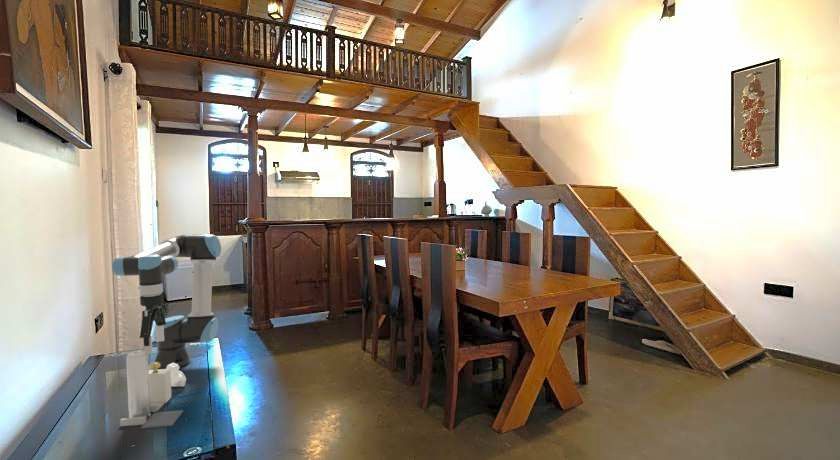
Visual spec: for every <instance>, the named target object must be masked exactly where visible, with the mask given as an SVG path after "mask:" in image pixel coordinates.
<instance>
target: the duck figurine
mask: <svg viewBox="0 0 840 460" xmlns="http://www.w3.org/2000/svg"><path fill="white" fill-rule="evenodd" d="M180 368H181V367H180V366H179V365H178V364H176V363H171V364H169V365H167V367H166V369H170V372H171V388H176V387H181V388H183V387H185V385H186V381H187V377H186V375H185V374H184V373H183V371H181V370H179V369H180Z"/></svg>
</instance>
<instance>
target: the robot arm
mask: <svg viewBox="0 0 840 460" xmlns="http://www.w3.org/2000/svg"><path fill="white" fill-rule="evenodd" d="M221 253H222V246H221V242H220V239H219V237H218V236H217V235H215V234H209V233H208V234H207V233H203V234H201V233H200V234H198V233H197V234H196V233H195V234H181V235H177V236H174V237H170V238H167V239H165V240H163V241H162V242H160V243H159V244H158V245H156V246H153V247H151V248H149V249H146V250H143V251H141V252H138V253H137V254H134V255H132V256H127V257H125V256H121V257H117V258H115V259H114V260H113V261H112V265H111V268H112V272H113V274H114V275H116V276H121V277H126V276H127V277H128V276H133V277H134V276H138V281H139V286H138V290H139V295H141V296H140V297H139V301H140V303H139V304H140V306H142V307H145V310H142V312H141V313H142V315H141V317H142V318H141V327H140V334H139V338H140V339H142V346H143V349H142V350H145V351H146V352H147V353H148V355H150V354H153V336H152V331H153V325H154V322H155V342H156V343H157V353H156V356H155V359H154V362H160V367H159V368H157V370H159V369H166V367H167V365H169V364H171V363H176V364H178V365H179V366H180V368H181V367H184V366H186V365H188V364H189V363H190V361H191V357H190V353H189V351H188V348H187V347H186V344H190V343H191V344H194V343H195V344H197V343H201V344H203V343H210V342H212V341H213V340H214V339H215V337H216V336H217V333H218V331H219V320H218V318H217V317H215V313H214V312H213V311H212V293H213V291H212V290H213V271H214V269H213V267H214V263H216V262H217V258H219V257H220V256H221ZM177 258H190V262H191V263H192V264H193V271H192V273H193V275H192V276H193V277H192V293H191V294H192V296H191V297H192V299H191V312H190V313H189V314H188V315H187V318H185V316H184V315H173V316H170V317H167V318H165V313H164V310H163V303H164V294H163V292H164V285H163V284H164V283H163V276H166V275H170V274H172V273H173V272H175V271H176V270H177V269H178V267H179V262H178V261H179V260H177Z"/></svg>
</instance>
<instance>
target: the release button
mask: <svg viewBox="0 0 840 460" xmlns="http://www.w3.org/2000/svg"><path fill="white" fill-rule="evenodd" d="M159 367H160V362H155V361H154V362H151V363H149V370H153V372H157V370H158V369H157V368H159Z"/></svg>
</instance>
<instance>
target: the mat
mask: <svg viewBox="0 0 840 460" xmlns="http://www.w3.org/2000/svg"><path fill="white" fill-rule="evenodd" d="M183 413H184V409H182V410H181V409H180V410H171V411H169V410H168V411H161V412H160V411H157V412H153V414H151V415H150V417H149V418H148V419H146V422H145V423H144V424H143V425H142V426H141V427H140V429H141V430H143V429H144V430H145V429H154V428H167V427H173V425H174V424H175V423H176V422H177V421H178V419H179V418H180V416H181V415H182V414H183Z"/></svg>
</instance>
